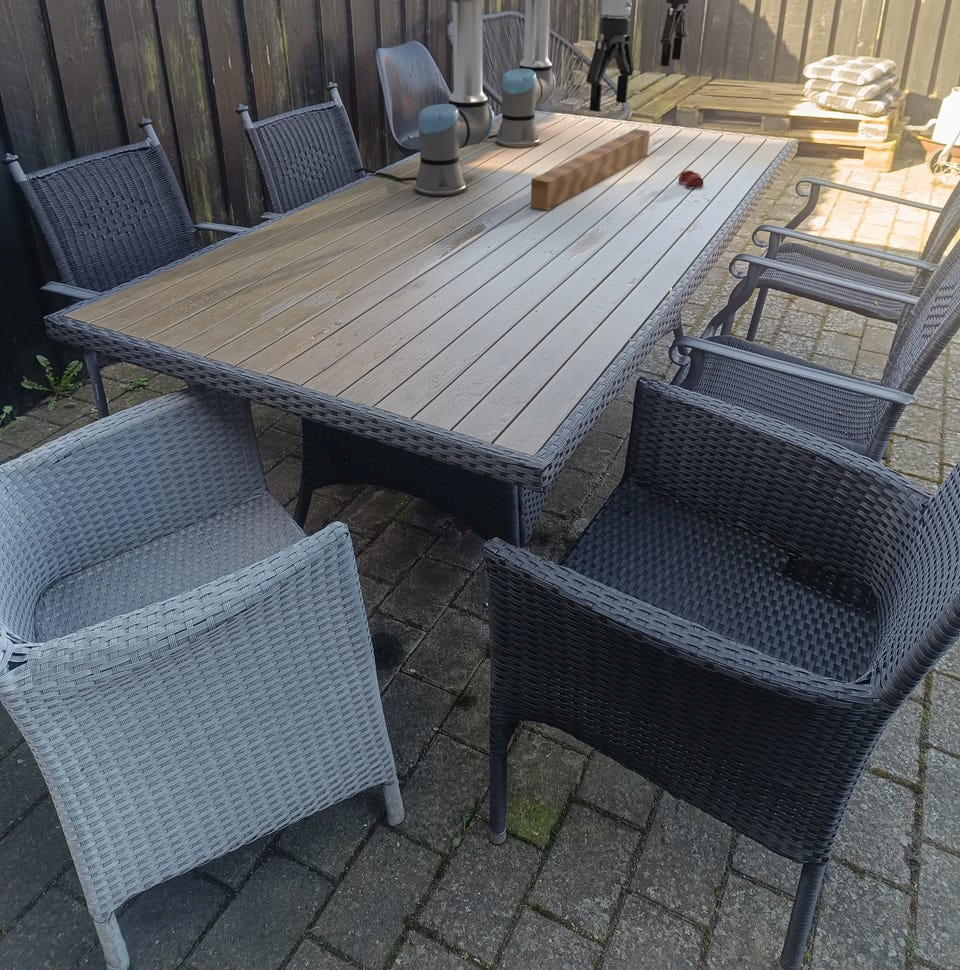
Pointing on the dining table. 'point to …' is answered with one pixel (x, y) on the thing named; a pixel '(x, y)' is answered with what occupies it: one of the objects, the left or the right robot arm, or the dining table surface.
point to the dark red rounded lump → (691, 179)
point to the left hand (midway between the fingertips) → (608, 106)
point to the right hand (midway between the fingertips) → (670, 62)
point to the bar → (588, 169)
